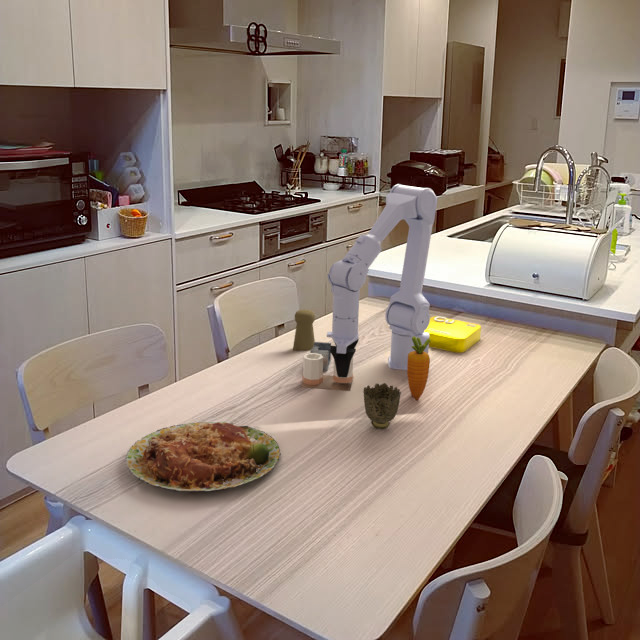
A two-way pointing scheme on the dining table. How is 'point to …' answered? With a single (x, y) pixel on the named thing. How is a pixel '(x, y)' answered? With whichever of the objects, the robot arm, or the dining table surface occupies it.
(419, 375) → the carrot
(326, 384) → the pin board
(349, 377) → the sleeve
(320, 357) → the sleeve
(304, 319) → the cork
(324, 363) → the grey metal bracket
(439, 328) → the element tile
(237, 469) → the rice dish
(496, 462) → the dining table surface
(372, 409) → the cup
